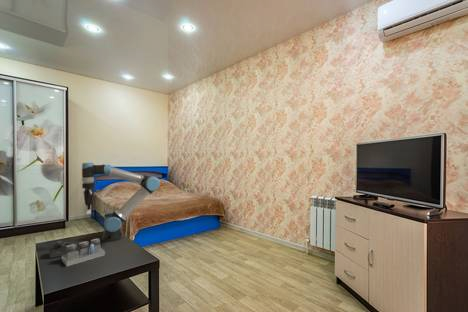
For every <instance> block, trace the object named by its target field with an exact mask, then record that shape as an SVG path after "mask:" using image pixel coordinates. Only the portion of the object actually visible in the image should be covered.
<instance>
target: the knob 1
mask: <svg viewBox="0 0 468 312" xmlns="http://www.w3.org/2000/svg"><path fill="white" fill-rule="evenodd" d="M77 249H78V245H77V244H76V243H72V244H70V245H68V246H66V251H67V252H71V251H75V250H77Z"/></svg>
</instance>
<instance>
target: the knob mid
mask: <svg viewBox="0 0 468 312" xmlns="http://www.w3.org/2000/svg"><path fill="white" fill-rule="evenodd" d="M89 241H90V240H89ZM89 241H88V240H86V241H85V240H84V241H80V242H79V243H78V249H79V248H80V249H83V248H87V247H89V248H90V242H89Z"/></svg>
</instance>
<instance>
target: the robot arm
mask: <svg viewBox="0 0 468 312" xmlns="http://www.w3.org/2000/svg"><path fill="white" fill-rule="evenodd" d="M94 175H95V176H97V175H106V176H110V177H115V178H117V179H121V180H125V181H128V182H132V183H136V184H138V185H139V186H140V187H139V189H138V190H137V191H136V192H135V193H134V194H133V195H132V196H131V197H130V198H128V200H127V201H125V202H124V204H122V206H121V207H120V208H119V209H117V210H110V211H106V212H104V224H103V226H104V231H103V234H102V236H101V240H102V241H103V242H114V241H118V240H120V239H122V238H123V232H122V229H121V227H122V225H123V224H125V222H126V221H127V217H128V216H129V215H130V214H131V213H132V212H133V211H134V210H135V209H136V208H137V207H138V205H140V203H142V201H144V200H145V199H146V198H147V196H149V195H152V194H153V193H154V192H155V191H157V190H158V189H159V188H160V186H161V181H160V180H159V178H158V177H156V176H152V175H146V174H139V173H135V172H131V171H127V170H124V169H120V168H117V167H114V166H112V165H111V164H94V162H82V164H81V183H82V184H81V186H82V189H84V190H83V198H84V204H85V213H86V215H89V214H92V205H93V198H94V197H93V196H94V192H93V190H92V189H93V188H94V187H95V176H94Z"/></svg>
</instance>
